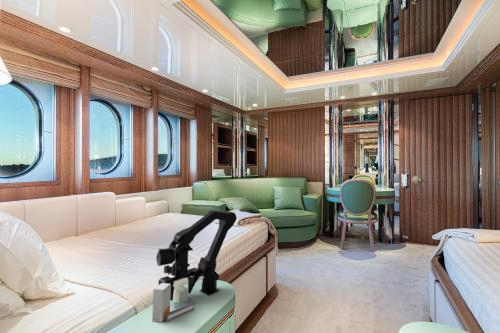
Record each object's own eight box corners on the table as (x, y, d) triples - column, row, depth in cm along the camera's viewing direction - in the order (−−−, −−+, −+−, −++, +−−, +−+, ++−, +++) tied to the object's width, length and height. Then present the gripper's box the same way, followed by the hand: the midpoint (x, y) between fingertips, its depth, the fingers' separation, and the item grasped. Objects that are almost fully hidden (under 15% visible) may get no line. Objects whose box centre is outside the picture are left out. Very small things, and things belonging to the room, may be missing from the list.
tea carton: (180, 295, 117) (180, 284, 117) (188, 300, 113) (188, 288, 113) (172, 299, 114) (172, 287, 114) (179, 303, 110) (180, 292, 110)
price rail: (191, 308, 106) (191, 302, 106) (193, 309, 105) (193, 303, 105) (165, 320, 97) (165, 313, 97) (167, 321, 96) (167, 315, 96)
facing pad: (187, 300, 112) (187, 300, 112) (194, 304, 109) (194, 304, 109) (173, 306, 107) (173, 306, 107) (180, 311, 104) (180, 310, 104)
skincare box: (162, 322, 96) (163, 290, 96) (151, 321, 97) (152, 289, 97) (170, 314, 102) (171, 283, 102) (160, 312, 103) (161, 282, 103)
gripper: (188, 252, 126) (187, 284, 126) (152, 262, 112) (151, 298, 112) (202, 258, 119) (201, 292, 119) (165, 268, 105) (164, 307, 105)
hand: (180, 296), depth 114 cm, fingers open, 9 cm apart
